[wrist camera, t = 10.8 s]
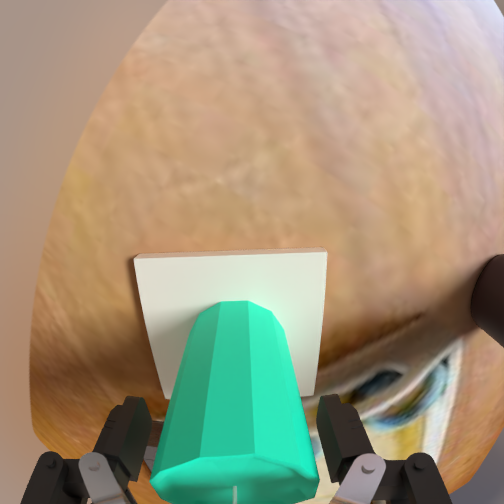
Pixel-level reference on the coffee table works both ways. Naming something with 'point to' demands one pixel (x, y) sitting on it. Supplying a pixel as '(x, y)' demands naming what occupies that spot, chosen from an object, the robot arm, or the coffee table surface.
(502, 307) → the wine bottle
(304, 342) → the coaster
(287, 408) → the candle
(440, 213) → the coffee table surface
